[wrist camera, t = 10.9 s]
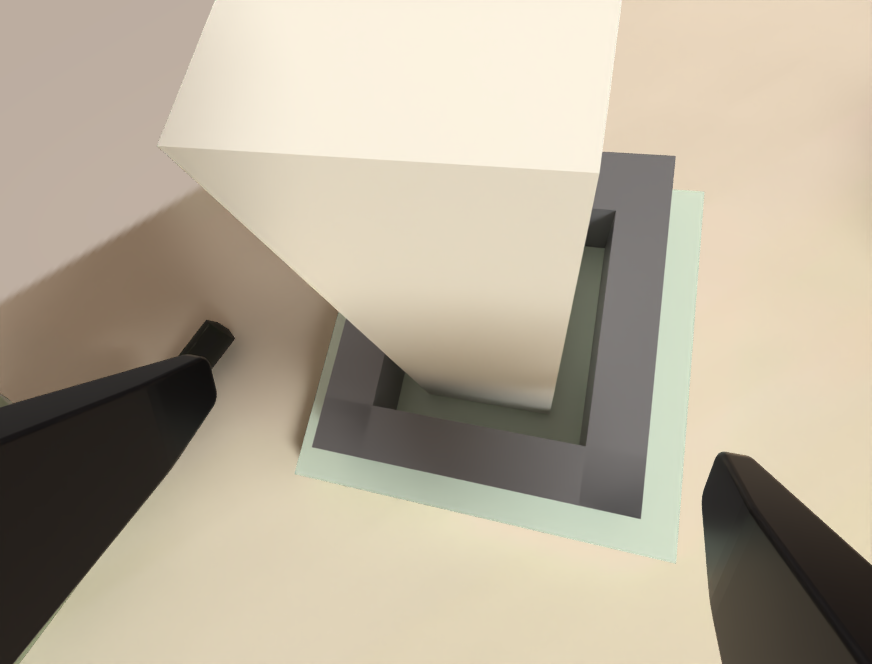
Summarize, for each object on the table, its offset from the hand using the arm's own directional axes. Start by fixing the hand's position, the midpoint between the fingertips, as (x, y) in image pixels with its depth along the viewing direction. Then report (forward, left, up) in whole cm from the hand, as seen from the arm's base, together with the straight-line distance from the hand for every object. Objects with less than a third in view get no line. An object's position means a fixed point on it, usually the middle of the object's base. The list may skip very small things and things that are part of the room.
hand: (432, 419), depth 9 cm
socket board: (+3, -3, -9) cm, 10 cm away
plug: (+3, -3, -8) cm, 9 cm away
